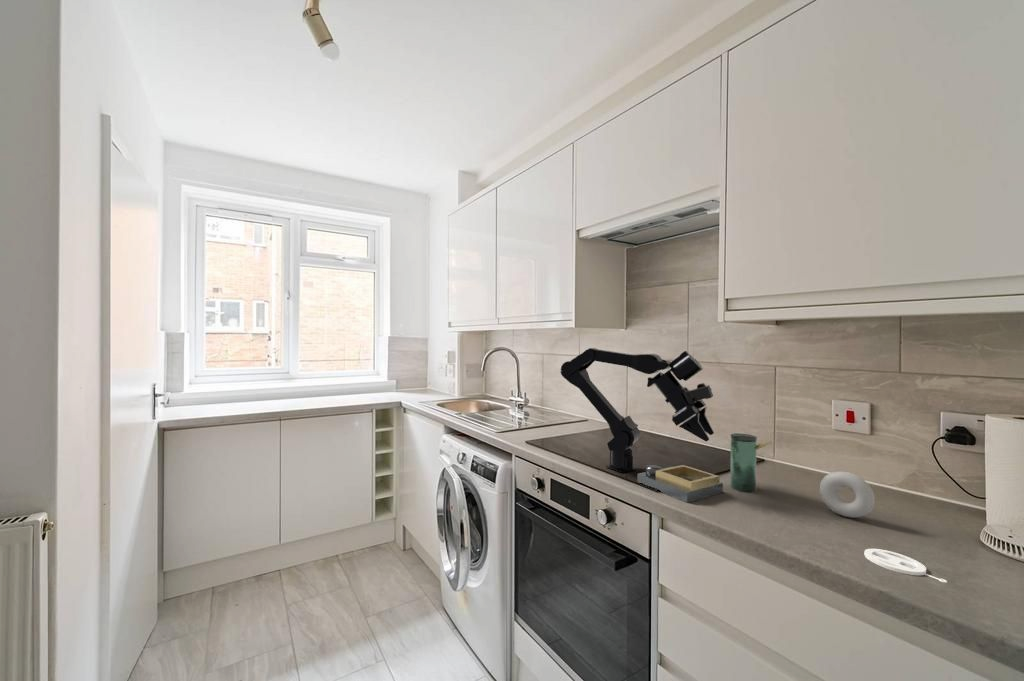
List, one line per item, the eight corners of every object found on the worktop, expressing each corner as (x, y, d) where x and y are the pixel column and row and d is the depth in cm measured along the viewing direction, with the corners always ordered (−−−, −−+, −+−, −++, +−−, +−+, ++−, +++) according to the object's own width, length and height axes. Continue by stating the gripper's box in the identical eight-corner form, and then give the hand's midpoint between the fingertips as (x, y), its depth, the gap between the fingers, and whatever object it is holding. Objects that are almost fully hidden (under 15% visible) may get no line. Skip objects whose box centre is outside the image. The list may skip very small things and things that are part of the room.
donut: (876, 522, 92) (877, 476, 92) (872, 526, 89) (873, 479, 89) (821, 507, 99) (822, 465, 99) (817, 511, 97) (817, 468, 97)
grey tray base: (637, 482, 116) (637, 466, 116) (671, 475, 122) (671, 459, 122) (687, 502, 102) (687, 484, 102) (722, 492, 109) (722, 475, 109)
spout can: (729, 489, 111) (730, 436, 111) (730, 482, 116) (731, 432, 116) (771, 496, 106) (772, 441, 106) (770, 489, 112) (771, 436, 112)
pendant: (873, 549, 80) (873, 544, 80) (955, 577, 71) (955, 572, 71) (857, 558, 76) (857, 554, 76) (940, 590, 67) (941, 585, 67)
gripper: (690, 376, 109) (732, 427, 103) (701, 372, 125) (738, 416, 119) (656, 400, 113) (695, 450, 108) (671, 393, 129) (705, 436, 124)
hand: (710, 437), depth 115 cm, fingers open, 9 cm apart
